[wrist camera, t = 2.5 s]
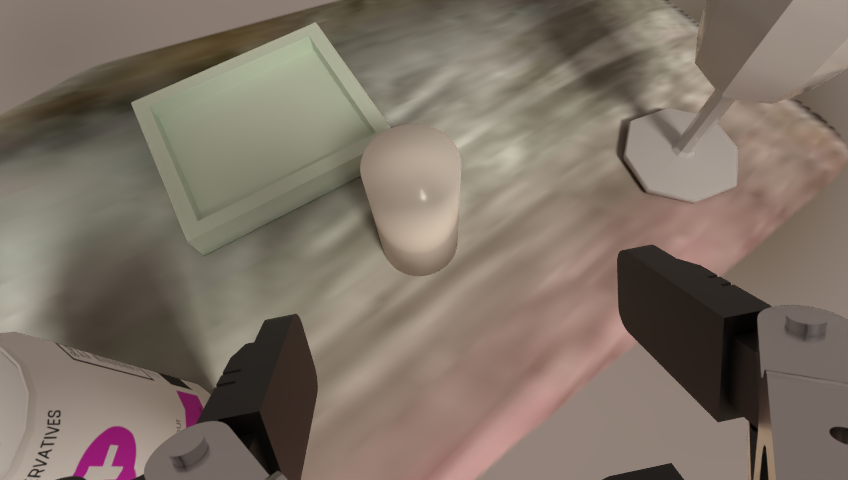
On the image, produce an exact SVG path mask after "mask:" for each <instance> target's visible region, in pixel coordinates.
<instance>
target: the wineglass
mask: <svg viewBox="0 0 848 480" xmlns="http://www.w3.org/2000/svg"><path fill="white" fill-rule="evenodd" d="M695 64H696V65H697V66H698V68H699V69H700V70H701V71H702V73H703V74H704V75H705V76H706V78H707V79H708V80H709V82H710V83H711V84H712V85H713V87H714V88H715V89H716V90H715V91H714V92H713V94H712V95H711V96H710V98H709V99H708V101H707V102H706V103H705V105H704V106H703V107H702V109H701V110H700V111H699V113H698V114H696V113H690V112H685V111H680V110H675V109H670V108H667V109H664V110H661V111H658V112H655V113H652V114H649V115H647V116H644V117H641V118H638V119H635V120H632V121H630V122H629V125H628V131H627V138H626V144H625V151H624V157H623V159H624V161H625V162H626V164H627V165H628V167H629V168H630V170H631V171H632V173H633V174H634V175H635V177H636V178H637V180H638V181H639V183H640V184H641V186H642V187H643V189H644V190H645V192H646V193H648V194H653V195H657V196H662V197H666V198H671V199H675V200H680V201H684V202H689V203H696V202H698V201H701V200H704V199H706V198H709V197H712V196H715V195H717V194H720V193H723V192H725V191H728V190H731V189H733V188H735V187H736V185H737V164H738V148H737V147H736V145H735V144H734V143H733V142H732V141H731V139H730V138H729V137H728V136H727V135H726V133H725V132H724V131H723V130H722V129H721V127H720V126H719V125H718V124H717V122H718V121H719V120H720V119H721V117H722V116H723V115H724V114H725V112H726V111H727V110H728V109H729V107H730V106H731V105H732V104H733V102H734V101H735V100H742V101H751V102H760V103H769V104H773V103H776V102H778V101H781V100H784V99H787V98H790V97H792V96H795V95H798V94H801V93H804V92H806V91H809V90H812V89H813V88H815V87H817V86H818V85H820V84H822V83H823V82H825V81H826V80H828V79H830V78H831V77H833V76H835V75H836V74H838V73H840V72H841V71H843V70H845V69H846V68H848V0H706V3H705V7H704V11H703V15H702V18H701V22H700V26H699V30H698V35H697V46H696V57H695Z"/></svg>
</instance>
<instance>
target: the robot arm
mask: <svg viewBox="0 0 848 480" xmlns="http://www.w3.org/2000/svg"><path fill="white" fill-rule="evenodd" d="M617 274H618V307H619V314H620V317H621V320H622V323H623V325H624V327H625V328H626V330H627V331H628V332H629V333H630V334H631V335H632V336H633V337H634V338H635V339H636V340H637V341H638V342H639V343H640V344H641V345H642V346H643V347H644V348H645V349H646V350H647V351H648V352H649V353H650V354H651V355H652V356H653V357H654V358H655V359H656V360H657V361H658V362H659V363H660V364H661V365H662V367H664V369H665V370H666V371H667V372H668V373H669V374H670V375H671V376H672V377H673V378H675V380H676V381H677V382H678V383H679V384H680V385H682V387H684V388H685V390H686V391H687V392H688V393H689V394H690V395H691V396H692V397H693V398H694V399H695V400H697V402H698V403H699V404H700V405H701V406H702V407H703V408H704V409H705V410H707V412H708V413H710V415H711V416H712V417H713V418H714V419H715V420H716V421H717V422H721V421H726V420H731V419H735V418H740V417H745V418H746V419H747V420H748V421H749V422H748V433H747V449H748V480H848V319H846V318H844V317H842V316H840V315H837V314H835V313H833V312H829V311H827V310H823V309H819V308H814V307H809V306H800V305H781V306H774V307H772V306H770V305H769V304H767V303H765V302H763V301H762V300H760V299H758V298H756V297H755V296H753V295H751V294H749V293H748V292H746V291H744V290H742V289H741V288H739V287H737V286H735V285H731V283H730V282H728V281H727V280H725V279H723V278H721V277H717V275H716V274H715V273H713V272H711V271H709V270H708V269H706V268H704V267H702V266H701V265H697V264H694V263H690V262H687V261H683V260H680V259H676V258H675V257H673V256H671V255H670V254H668V253H666V252H665V251H663V250H661V249H660V248H658V247H656V246H654V245H647V246H642V247H637V248H631V249H626V250H622V251H620V252H619V254H618V258H617ZM317 390H318V385H317V375H316V370H315V366H314V363H313V359H312V356H311V352H310V349H309V346H308V342H307V339H306V336H305V332H304V329H303V325H302V322H301V320H300V318H299V316H298V315H297V314H293V315H288V316H283V317H277V318H272V319H267V320H265V321H264V323H263V325H262V327H261V329H260V331H259V333H258V335H257V337H256V340H255V342H254V343H248V344H245V345H244V346H243V347H242V348H241V349H240V350H239V351H238V352H237V353H236V354H234V355H233V356H232V357H231V358H230V360H229V362H228V364H227V366H226V368H225V370H224V371H223V375H222V376H221V377H220V379H219V381H218V383H217V388H214V390H213V392H212V394H211V396H210V398H209V400H208V402H207V403H206V405H205V407H204V409H203V411H202V413H201V415H200V417H199V419H198V420H197V422H196V424H195V425H193V426H190V427H188V428H185V429H183V430H181V431H180V432H178V433H176V434H174V435H173V436H171V437H170V438H168V439H167V440H166V441H164V442H163V443H162V444H161V445H160V446H159V447H158V448H157V449H156V450H155V451H154V452H153V453H152V455H151V456H150V457H149V459H148V461H147V462H146V465H145V468H144V474H143V475H141V476H139V477H136V478H134V479H132V480H301V475H302V470H303V465H304V460H305V454H306V449H307V444H308V439H309V434H310V429H311V423H312V418H313V413H314V408H315V403H316V398H317ZM56 480H86V479H85V478H83V477H79V476H69V477H63V478H60V479H56ZM603 480H684V479H683V478H682V476H681V475H680V474H679V473H678V471H677V470H676V469H675V467H674V466H673V465H672V463H670V464H665V465H660V466H656V467H651V468H646V469H641V470H637V471H632V472H627V473H623V474H618V475H613V476H609V477H607V478H605V479H603Z"/></svg>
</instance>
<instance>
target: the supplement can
mask: <svg viewBox="0 0 848 480" xmlns="http://www.w3.org/2000/svg"><path fill="white" fill-rule="evenodd" d="M210 396H211V394H209V393H208V392H207V391H206V390H205V389H203V388H202V387H201V386H200V385H198V384H195V383H192V382H188V381H185V380H181V379H178V378H174V377H171V376H167V375H164V374H161V373H157V372H154V371H150V370H147V369H143V368H140V367H136V366H133V365H130V364H126V363H123V362H119V361H116V360H112V359H109V358H105V357H102V356H98V355H95V354H92V353H88V352H85V351H81V350H78V349H74V348H71V347H67V346H64V345H61V344H57V343H54V342H50V341H47V340H43V339H40V338H36V337H32V336H28V335H25V334H21V333H17V332H8V333H0V480H56V479H60V478H63V477H69V476H79V477H83V478H85V479H86V480H132V479H134V478H136V477H139V476H141V475H143V474H144V468H145V465H146V462H147V461H148V459H149V457H150V456H151V455H152V453H153V452H154V451H155V450H156V449H157V448H158V447H159V446H160V445H161V444H162V443H163V442H164V441H166V440H167V439H168V438H170V437H171V436H173V435H174V434H176V433H178V432H180V431H181V430H183V429H185V428H188V427H190V426H193V425H195V424H196V422H197V420H198V419H199V417H200V415H201V413H202V411H203V409H204V407H205V405H206V403H207V402H208V400H209V398H210Z"/></svg>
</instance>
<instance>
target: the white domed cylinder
mask: <svg viewBox="0 0 848 480" xmlns="http://www.w3.org/2000/svg"><path fill="white" fill-rule="evenodd" d="M360 173H361V178H362V181H363V184H364V188H365V191H366V194H367V197H368V201H369V204H370V207H371V211H372V214H373V217H374V220H375V224H376V227H377V230H378V234H379V237H380V240H381V243H382V247H383V250H384V253H385V256H386V257H387V259H388V261H389V262H390V263H391V264H392V265H393V266H394V267H395V268H396V269H397V270H399V271H401V272H403V273H405V274H408V275H413V276H426V275H430V274H433V273H436V272H438V271H440V270H441V269H443V268H444V267H445V266H446V265H448V263H449V262H450V261H451V260H452V258H453V257H454V255H455V252H456V249H457V242H458V222H459V202H460V182H461V157H460V154H459V151H458V149H457V147H456V145H455V144H454V142H453V141H452V140H451V139H450V138H449V137H448V136H447V135H446V134H444V133H443V132H441V131H439V130H437V129H435V128H433V127H430V126H426V125H420V124H406V125H400V126H396V127H393V128H390V129H388V130H386V131H384V132H382V133H381V134H379V135H378V136H377V137H375V138H374V139H373V140H372V141H371V142H370V144H369V145H368V146H367V148H366V149H365V151H364V153H363V156H362V159H361V164H360Z"/></svg>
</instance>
